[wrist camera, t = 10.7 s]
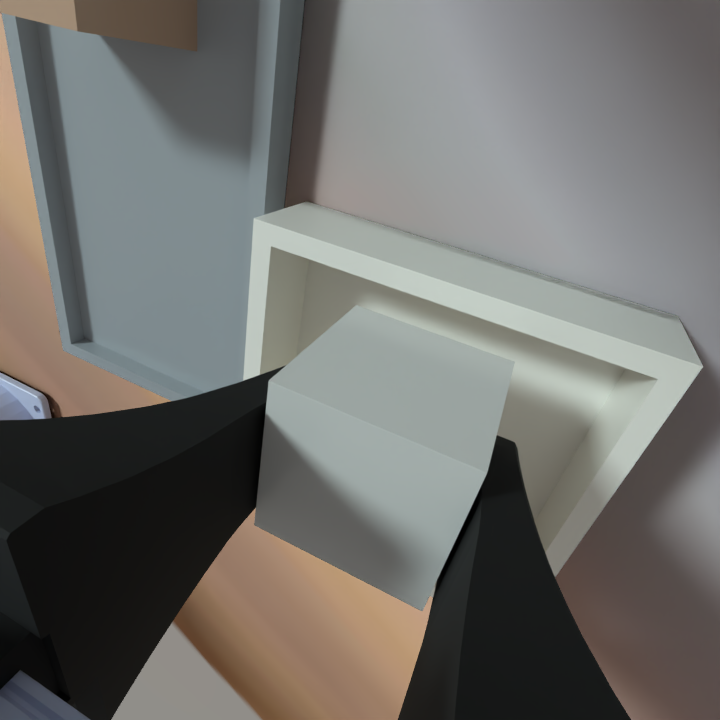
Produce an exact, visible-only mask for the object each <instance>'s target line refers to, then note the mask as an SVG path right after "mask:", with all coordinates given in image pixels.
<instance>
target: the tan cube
mask: <svg viewBox="0 0 720 720" xmlns="http://www.w3.org/2000/svg"><path fill="white" fill-rule="evenodd" d="M0 13H4V14H8V15H12V16H16V17H20V18H24V19H29V20H33V21H37V22H41V23H45V24H49V25H53V26H57V27H62V28H66V29H70V30H74V31H78V32H84V33H90V34H96V35H102V36H108V37H114V38H120V39H126V40H132V41H137V42H143V43H149V44H155V45H161V46H167V47H173V48H179V49H185V50H191V51H197V0H0Z"/></svg>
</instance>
